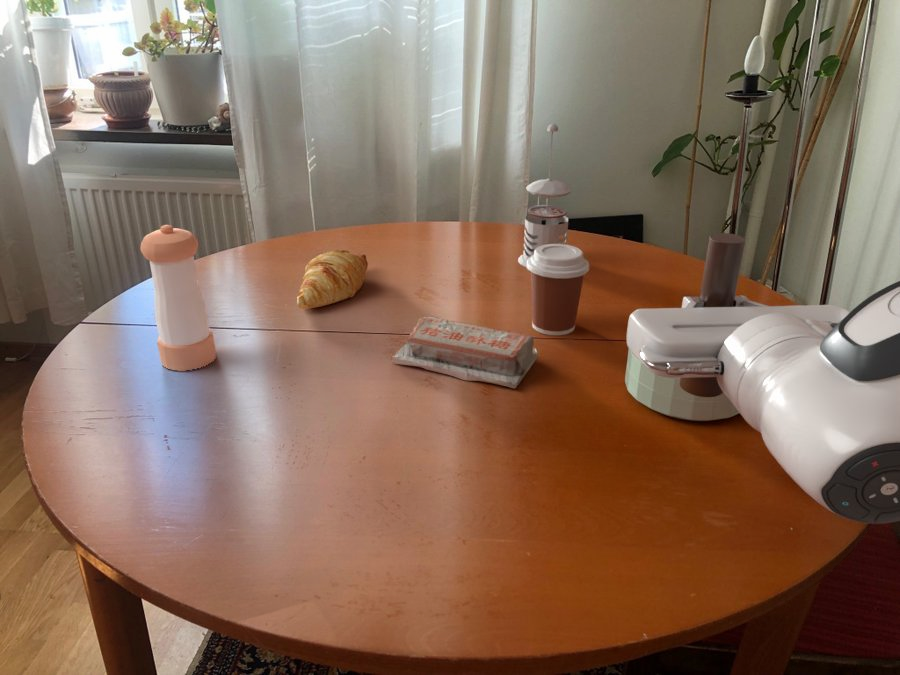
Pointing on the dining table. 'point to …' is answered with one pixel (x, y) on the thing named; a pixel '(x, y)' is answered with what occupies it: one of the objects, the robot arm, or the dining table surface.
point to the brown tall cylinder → (717, 294)
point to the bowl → (673, 395)
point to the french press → (545, 214)
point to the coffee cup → (556, 287)
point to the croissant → (331, 278)
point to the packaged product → (468, 351)
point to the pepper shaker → (178, 300)
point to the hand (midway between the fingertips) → (712, 302)
